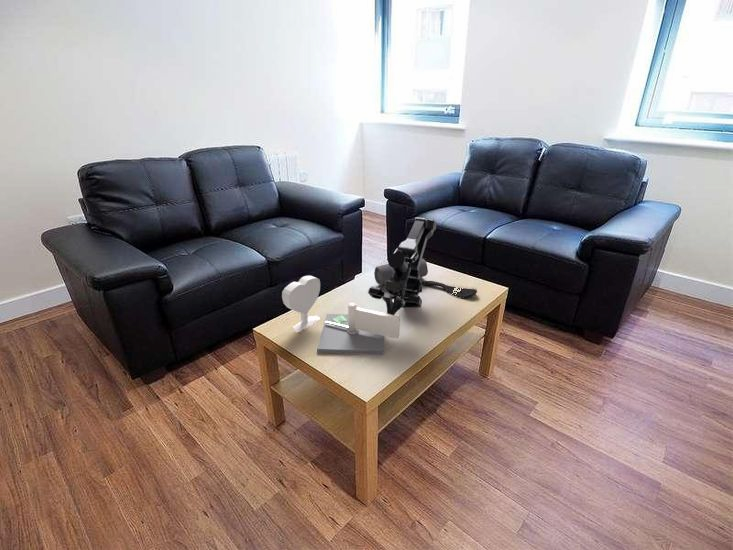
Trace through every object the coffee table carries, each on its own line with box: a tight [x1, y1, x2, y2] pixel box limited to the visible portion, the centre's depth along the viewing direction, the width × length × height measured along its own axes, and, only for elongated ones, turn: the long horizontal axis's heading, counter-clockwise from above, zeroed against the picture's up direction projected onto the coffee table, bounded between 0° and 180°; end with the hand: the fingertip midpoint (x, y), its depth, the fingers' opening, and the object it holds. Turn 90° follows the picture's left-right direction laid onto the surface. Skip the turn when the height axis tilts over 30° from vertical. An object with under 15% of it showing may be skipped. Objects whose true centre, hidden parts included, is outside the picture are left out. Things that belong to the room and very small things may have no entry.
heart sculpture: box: [281, 275, 321, 332], centre depth 140 cm, size 16×5×18 cm, turn 143°
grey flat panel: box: [316, 313, 385, 355], centre depth 138 cm, size 22×22×2 cm
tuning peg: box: [324, 302, 401, 340], centre depth 134 cm, size 28×3×10 cm, turn 67°
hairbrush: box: [421, 280, 478, 299], centre depth 167 cm, size 8×4×25 cm
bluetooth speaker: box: [373, 258, 429, 286], centre depth 172 cm, size 23×9×10 cm, turn 113°
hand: (388, 319), depth 134 cm, fingers closed
